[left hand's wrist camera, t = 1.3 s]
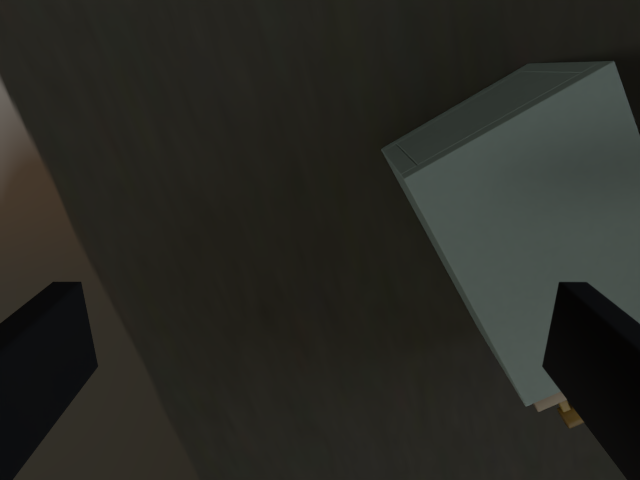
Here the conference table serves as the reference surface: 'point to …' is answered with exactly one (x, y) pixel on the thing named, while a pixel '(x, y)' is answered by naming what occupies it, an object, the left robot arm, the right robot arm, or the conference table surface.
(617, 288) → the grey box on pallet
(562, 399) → the drawer
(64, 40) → the conference table surface
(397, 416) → the conference table surface
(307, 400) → the conference table surface
